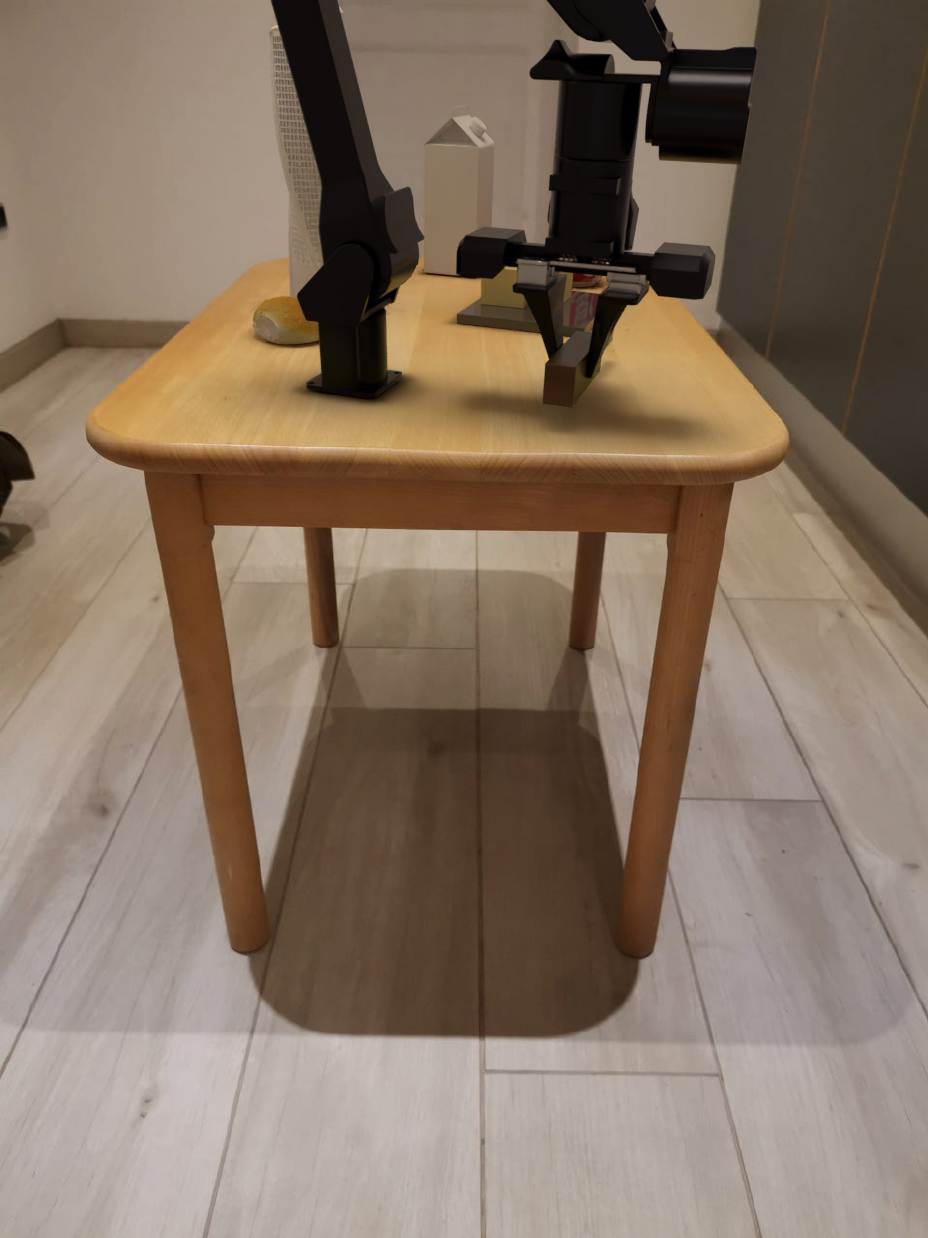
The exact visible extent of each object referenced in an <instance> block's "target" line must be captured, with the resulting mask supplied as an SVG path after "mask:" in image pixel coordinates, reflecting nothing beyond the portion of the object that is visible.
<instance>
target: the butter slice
mask: <svg viewBox="0 0 928 1238" xmlns="http://www.w3.org/2000/svg"><path fill="white" fill-rule="evenodd" d="M565 260H568V259H565ZM558 274H566V275H567V280H566V287H565V293H564V301H563V303H564V302H565V301H567V300H568V299H569V298H570V297H571V292H572V291H573V287H572V281H573V273H566V272H560V273H558Z"/></svg>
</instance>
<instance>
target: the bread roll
mask: <svg viewBox="0 0 928 1238" xmlns="http://www.w3.org/2000/svg"><path fill="white" fill-rule="evenodd" d="M252 329H253V331H254V334H255V335H256V336H258V337H259V338H261V339H264V340H265V341H268V342H270V343H273V344H278V345H301V344H309V343H314V342H317V341H319V332H318V322H313V321H307V320H306V319H305V317H304V315H303V312H302V310H301V307H300V304H299V302H298V299H297V296H295V297H290V296H285V295H284V296H283V295H282V296H275V297H271V298H268V299H264V301H262V302H261V303H260V304H259V305H258V306H257V308H255V310H254V311H253V317H252Z"/></svg>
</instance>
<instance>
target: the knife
mask: <svg viewBox="0 0 928 1238" xmlns="http://www.w3.org/2000/svg"><path fill="white" fill-rule="evenodd" d="M591 335H592V329H591V330H590V331H589V332H583V331H576V332H575V333H574V334H573V335H572V336H569V338H568V339H567V340H566V341H564V344H563V345H562V346H561V348H560V349H559V350H558V351H557V352H556V353H555V354H554V355H553V356H552V357H551V358H550V359H549V358H548V360H547V361H546V362H545V363H544V375H543V388H542V399H541V400H542V405H545V406H553V407H560V408H567V409H573V408H574V407H575V405H577V403H578V401H579V400H580V399H581V397H582V396H583V395H584V393H585V392H586V390H587V389H588V388H589V387H590V385H592V383H593V382H594V380H595V379H596V378H597V376H598V375H599V374H600V372H601V368H602V360H603V359H602V358H601V360H600V362H599V365H598V367H597V369H596V372H595V374H594V376H593V377H592V378H587V358H588V352H589V347H590V341H591ZM613 338H614V331H613V332H612V334H611V337H610V339H609V341H608V344H607V346H606V348H605V350H606V349H607V348H608V347H609V345H610V344H611V343H612V341H613V340H614V339H613Z"/></svg>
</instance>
